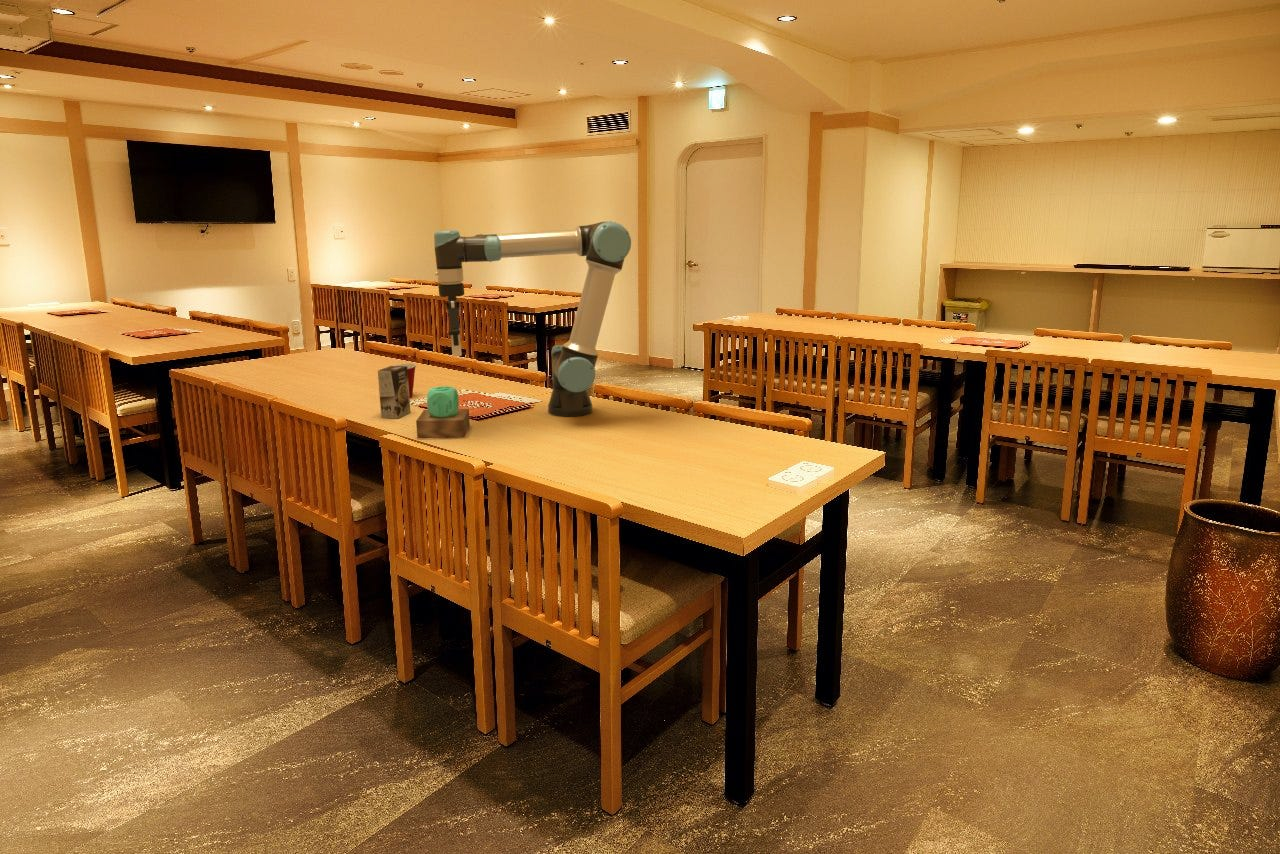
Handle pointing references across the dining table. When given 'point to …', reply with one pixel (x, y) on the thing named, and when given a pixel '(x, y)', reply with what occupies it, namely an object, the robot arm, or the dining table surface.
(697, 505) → the dining table surface
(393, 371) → the coffee box
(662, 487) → the dining table surface
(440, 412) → the decorative dice
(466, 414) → the walnut block
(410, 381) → the plastic cup
